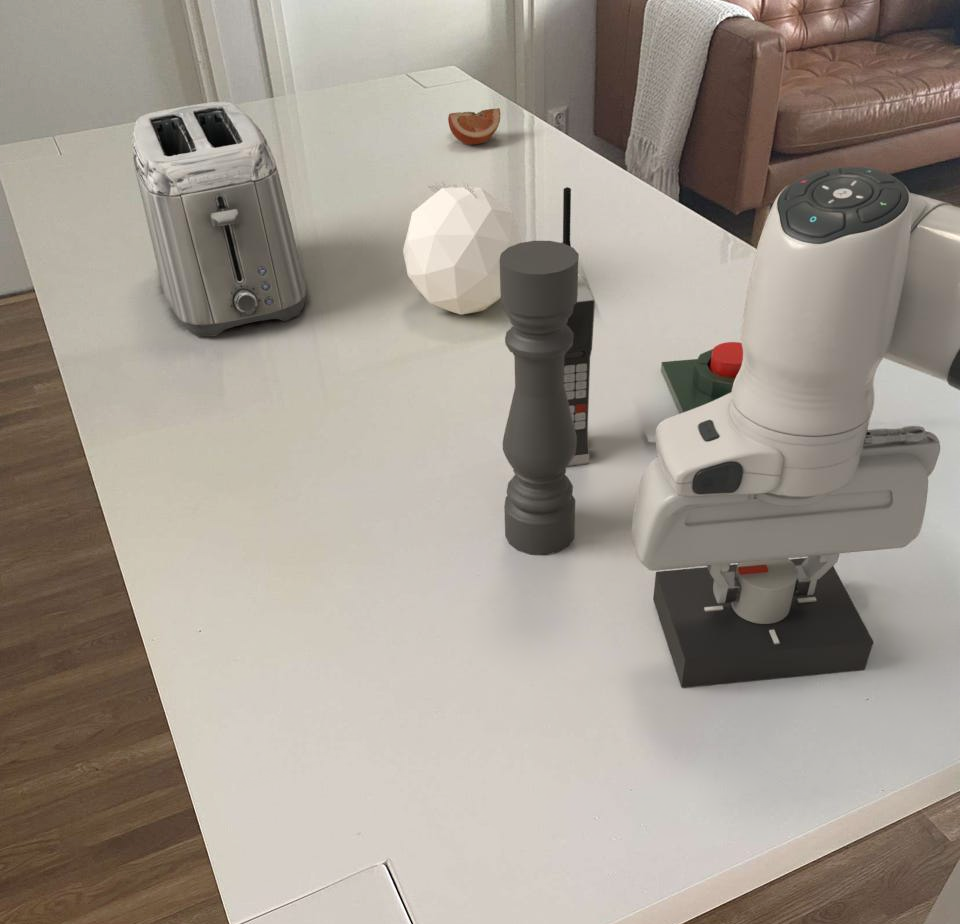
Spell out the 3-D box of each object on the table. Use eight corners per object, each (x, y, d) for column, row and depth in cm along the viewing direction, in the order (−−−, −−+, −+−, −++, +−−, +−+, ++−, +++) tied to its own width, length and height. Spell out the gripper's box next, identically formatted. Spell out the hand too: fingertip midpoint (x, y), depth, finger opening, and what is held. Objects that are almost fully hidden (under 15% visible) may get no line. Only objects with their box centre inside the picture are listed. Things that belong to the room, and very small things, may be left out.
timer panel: (820, 583, 83) (828, 553, 81) (864, 670, 76) (874, 640, 74) (652, 599, 82) (655, 569, 80) (681, 688, 75) (685, 658, 73)
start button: (747, 355, 103) (750, 340, 102) (760, 377, 100) (762, 361, 98) (705, 359, 103) (707, 343, 101) (716, 381, 100) (718, 365, 98)
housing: (770, 370, 107) (776, 336, 105) (800, 421, 100) (807, 385, 98) (659, 380, 107) (662, 345, 104) (681, 431, 100) (685, 395, 97)
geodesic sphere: (353, 258, 118) (400, 171, 106) (430, 217, 126) (481, 131, 114) (438, 356, 119) (493, 281, 107) (508, 308, 127) (567, 233, 115)
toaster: (179, 354, 116) (133, 183, 103) (154, 255, 136) (112, 101, 123) (322, 326, 119) (294, 157, 106) (276, 233, 140) (248, 82, 126)
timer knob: (779, 583, 79) (788, 545, 76) (797, 621, 75) (806, 583, 73) (724, 588, 78) (730, 550, 76) (739, 627, 75) (746, 588, 73)
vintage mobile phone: (551, 470, 96) (552, 203, 79) (540, 441, 100) (539, 181, 82) (589, 465, 96) (599, 198, 79) (577, 437, 100) (584, 176, 83)
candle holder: (579, 551, 87) (588, 272, 70) (508, 558, 87) (499, 279, 70) (569, 508, 92) (575, 236, 74) (501, 514, 91) (492, 242, 74)
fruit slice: (496, 134, 165) (494, 101, 161) (506, 147, 160) (505, 113, 157) (446, 140, 164) (444, 107, 160) (455, 154, 159) (453, 120, 155)
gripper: (927, 399, 69) (881, 555, 79) (633, 425, 69) (622, 579, 78) (967, 450, 65) (912, 609, 74) (653, 478, 64) (638, 635, 74)
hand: (761, 594), depth 76 cm, fingers closed on timer knob, 4 cm apart
